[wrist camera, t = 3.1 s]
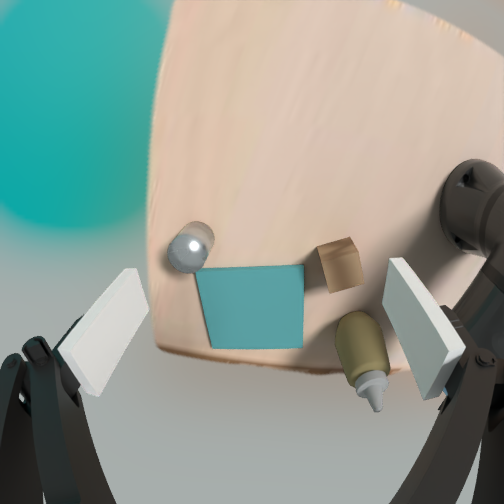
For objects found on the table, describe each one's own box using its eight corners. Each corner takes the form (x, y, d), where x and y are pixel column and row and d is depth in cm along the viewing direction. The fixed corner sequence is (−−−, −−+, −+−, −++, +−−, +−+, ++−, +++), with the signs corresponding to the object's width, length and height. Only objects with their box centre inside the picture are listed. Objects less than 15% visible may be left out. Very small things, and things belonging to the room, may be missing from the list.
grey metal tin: (212, 220, 39) (201, 236, 34) (216, 252, 41) (207, 272, 36) (178, 222, 40) (163, 238, 34) (184, 254, 42) (171, 273, 36)
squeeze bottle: (322, 323, 45) (336, 413, 29) (361, 296, 42) (394, 383, 26) (347, 347, 47) (364, 430, 31) (383, 323, 44) (415, 404, 28)
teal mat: (303, 264, 41) (303, 267, 40) (302, 344, 47) (302, 347, 47) (196, 268, 42) (195, 271, 42) (213, 344, 49) (212, 348, 48)
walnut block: (349, 236, 38) (358, 251, 34) (355, 266, 40) (364, 283, 36) (316, 246, 39) (321, 262, 35) (324, 275, 41) (329, 293, 37)
